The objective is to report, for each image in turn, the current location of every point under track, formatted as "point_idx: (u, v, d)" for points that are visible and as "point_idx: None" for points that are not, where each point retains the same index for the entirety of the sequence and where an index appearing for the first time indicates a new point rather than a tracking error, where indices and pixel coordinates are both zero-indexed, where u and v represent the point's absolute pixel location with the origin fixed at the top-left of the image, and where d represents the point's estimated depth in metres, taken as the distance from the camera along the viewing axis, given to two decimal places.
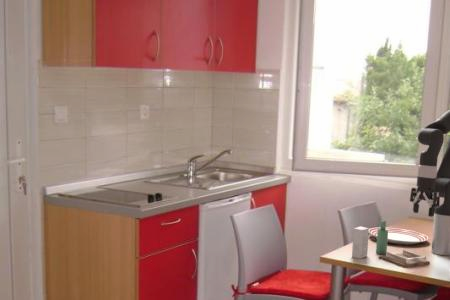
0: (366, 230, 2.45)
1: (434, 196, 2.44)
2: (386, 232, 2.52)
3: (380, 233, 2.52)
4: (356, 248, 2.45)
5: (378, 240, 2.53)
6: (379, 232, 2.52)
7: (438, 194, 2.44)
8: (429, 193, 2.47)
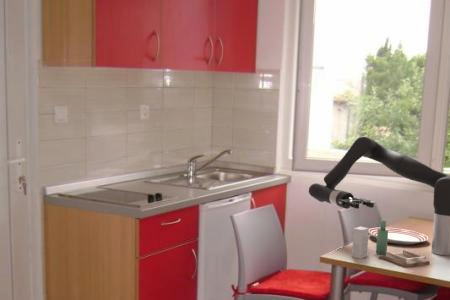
0: (366, 230, 2.45)
1: None
2: (386, 232, 2.52)
3: (380, 233, 2.52)
4: (356, 248, 2.45)
5: (378, 240, 2.53)
6: (379, 232, 2.52)
7: (339, 201, 2.67)
8: (345, 204, 2.69)
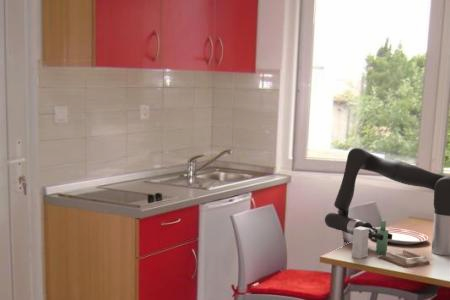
0: (366, 230, 2.45)
1: None
2: (386, 232, 2.52)
3: (380, 233, 2.52)
4: (356, 248, 2.45)
5: (378, 240, 2.53)
6: (379, 232, 2.52)
7: None
8: None
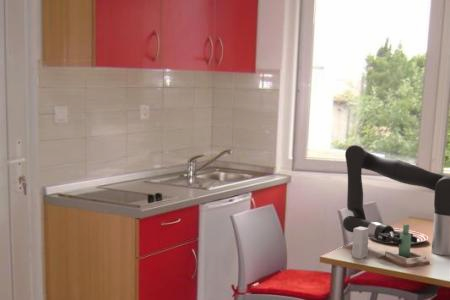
0: (366, 230, 2.45)
1: None
2: (409, 236, 2.40)
3: (403, 238, 2.40)
4: (356, 248, 2.45)
5: (401, 245, 2.41)
6: (402, 236, 2.41)
7: (379, 235, 2.45)
8: None
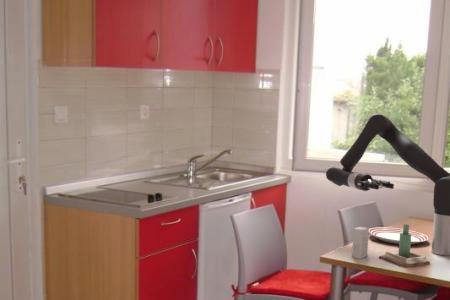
0: (366, 230, 2.45)
1: (360, 186, 2.60)
2: (409, 236, 2.40)
3: (403, 237, 2.41)
4: (356, 248, 2.45)
5: (401, 245, 2.41)
6: (402, 236, 2.41)
7: (358, 183, 2.61)
8: (364, 186, 2.63)
